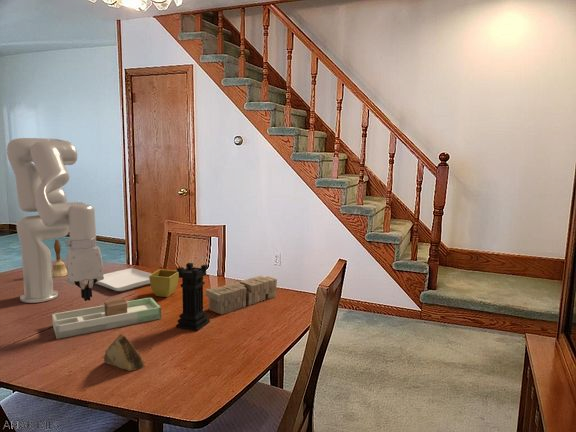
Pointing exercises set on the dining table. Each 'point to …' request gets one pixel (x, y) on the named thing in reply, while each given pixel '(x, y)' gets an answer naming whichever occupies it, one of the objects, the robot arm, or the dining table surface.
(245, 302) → the block tower
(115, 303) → the walnut block
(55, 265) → the hand bell
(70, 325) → the tray
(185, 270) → the chess piece
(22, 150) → the robot arm
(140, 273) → the salad plate
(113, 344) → the rock
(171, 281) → the flower pot
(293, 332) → the dining table surface
